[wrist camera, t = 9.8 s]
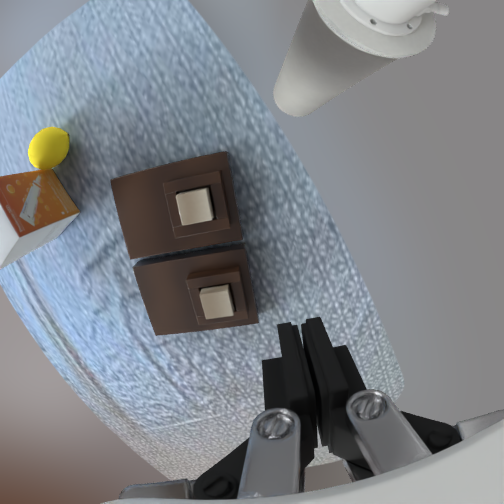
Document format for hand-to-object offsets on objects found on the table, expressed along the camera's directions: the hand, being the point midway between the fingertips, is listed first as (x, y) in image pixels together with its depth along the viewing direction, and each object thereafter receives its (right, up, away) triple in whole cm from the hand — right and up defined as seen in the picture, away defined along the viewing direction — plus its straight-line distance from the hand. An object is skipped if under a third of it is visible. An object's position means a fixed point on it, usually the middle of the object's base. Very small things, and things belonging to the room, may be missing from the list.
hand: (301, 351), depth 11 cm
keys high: (-9, -1, +27) cm, 28 cm away
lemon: (-27, +18, +20) cm, 39 cm away
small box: (-29, +11, +23) cm, 39 cm away
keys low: (-11, +9, +23) cm, 27 cm away
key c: (-8, +9, +20) cm, 23 cm away
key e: (-6, -1, +23) cm, 24 cm away
